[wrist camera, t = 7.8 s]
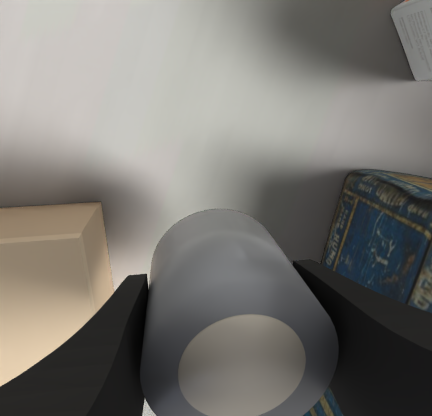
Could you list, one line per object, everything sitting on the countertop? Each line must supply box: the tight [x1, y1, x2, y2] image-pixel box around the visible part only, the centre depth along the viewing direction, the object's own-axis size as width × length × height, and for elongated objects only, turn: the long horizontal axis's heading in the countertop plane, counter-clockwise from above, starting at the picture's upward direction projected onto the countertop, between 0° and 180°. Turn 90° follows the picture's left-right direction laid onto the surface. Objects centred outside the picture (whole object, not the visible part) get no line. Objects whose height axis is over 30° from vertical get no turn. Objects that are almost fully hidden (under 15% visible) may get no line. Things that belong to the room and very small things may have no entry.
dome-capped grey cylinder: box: [140, 209, 339, 416], centre depth 11 cm, size 5×5×5 cm
